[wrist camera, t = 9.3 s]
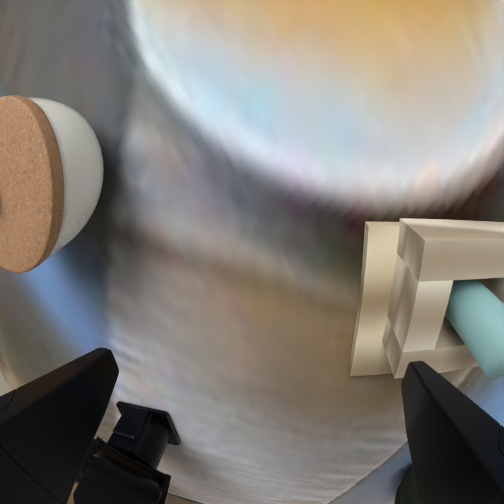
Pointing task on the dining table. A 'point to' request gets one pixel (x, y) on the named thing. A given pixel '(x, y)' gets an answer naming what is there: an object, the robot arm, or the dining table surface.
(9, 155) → the lidded jar
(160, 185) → the dining table surface
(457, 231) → the socket board
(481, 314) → the peg
